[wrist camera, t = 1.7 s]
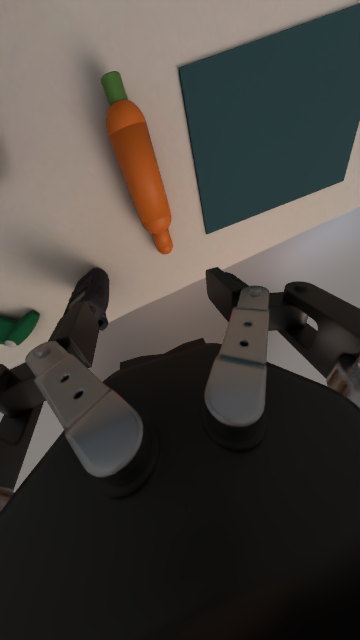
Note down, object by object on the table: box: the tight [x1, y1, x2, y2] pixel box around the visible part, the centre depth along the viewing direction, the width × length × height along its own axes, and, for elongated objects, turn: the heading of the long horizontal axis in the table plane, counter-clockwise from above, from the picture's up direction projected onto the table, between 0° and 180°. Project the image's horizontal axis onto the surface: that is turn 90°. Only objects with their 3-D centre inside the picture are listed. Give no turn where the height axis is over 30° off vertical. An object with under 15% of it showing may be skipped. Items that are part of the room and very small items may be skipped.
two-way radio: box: [63, 268, 109, 330], centre depth 22 cm, size 6×4×15 cm
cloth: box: [179, 4, 360, 234], centre depth 23 cm, size 16×24×1 cm, turn 106°
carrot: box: [101, 71, 173, 254], centre depth 21 cm, size 17×4×4 cm, turn 16°
